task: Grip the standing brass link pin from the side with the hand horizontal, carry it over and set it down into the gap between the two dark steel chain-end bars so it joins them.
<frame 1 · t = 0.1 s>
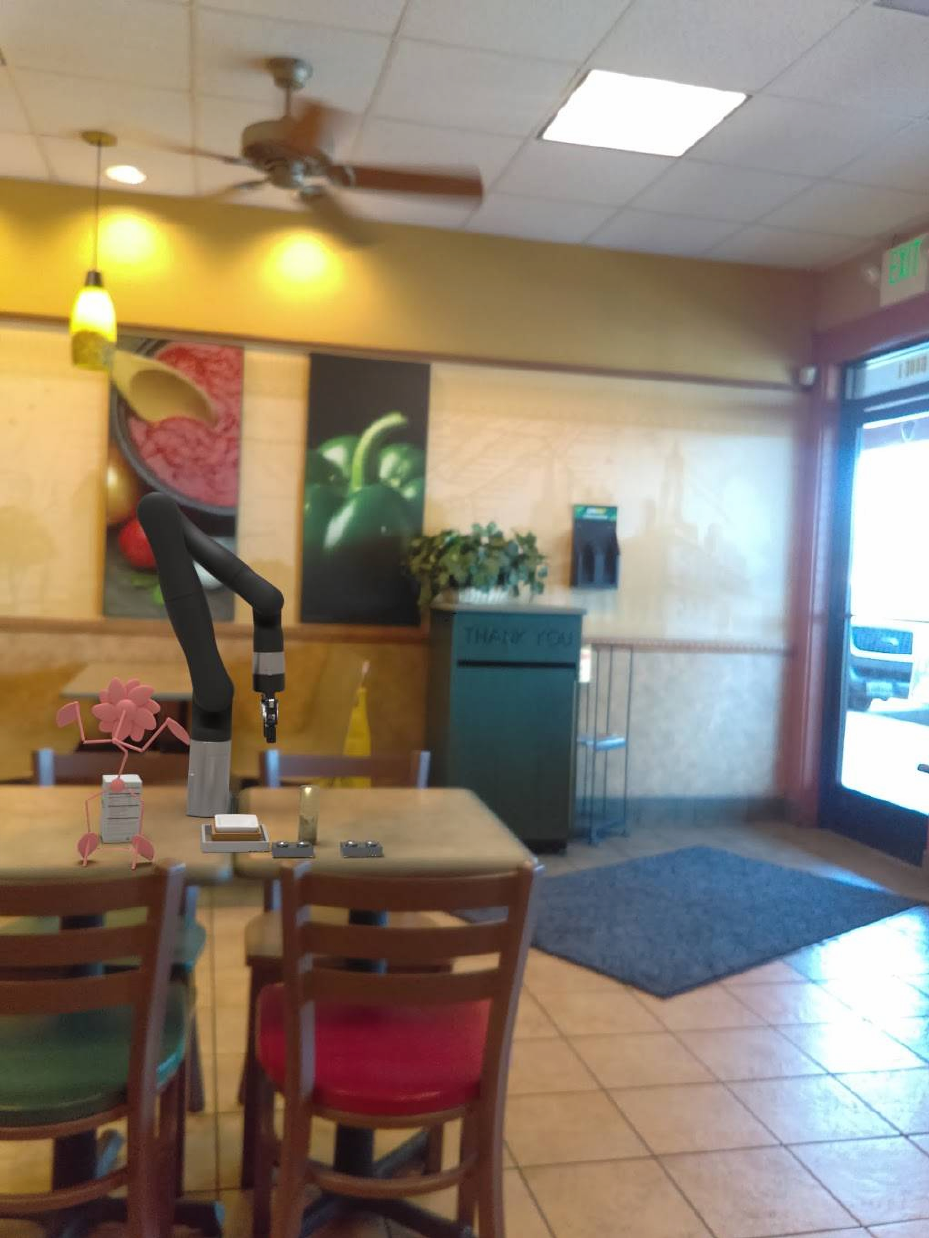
hand: (269, 740, 249), 17 cm above the table, tool pointing down, fingers open, 8 cm apart
coaster tray: (234, 842, 221), on the table
chain end A: (292, 854, 214), on the table
supplement box: (119, 839, 219), on the table
chain end B: (360, 854, 218), on the table
pink flower figurine: (119, 860, 204), on the table
soap dish: (234, 844, 221), resting in coaster tray
link pin: (307, 843, 224), on the table
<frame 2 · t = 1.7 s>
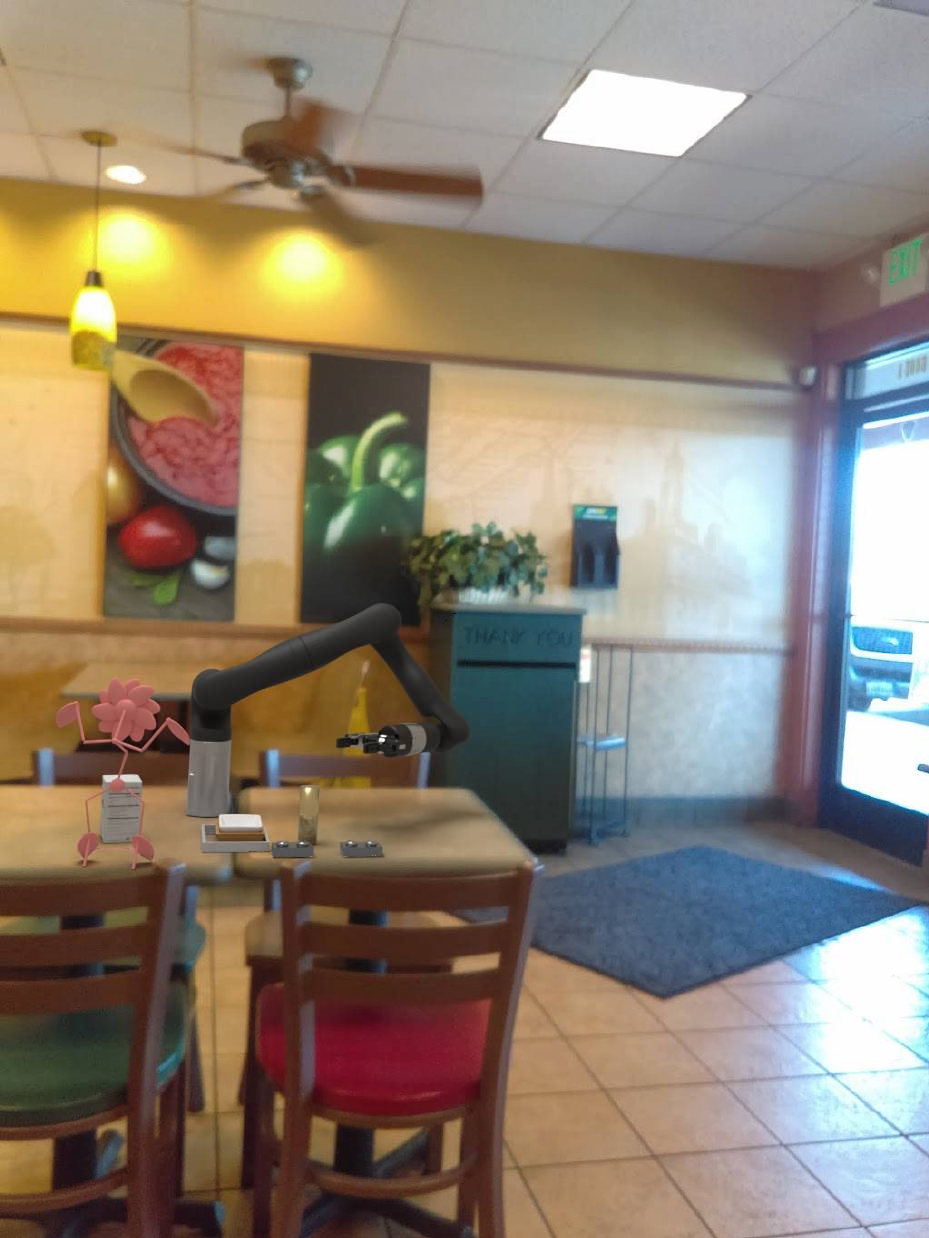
hand: (350, 746, 232), 20 cm above the table, tool horizontal, fingers open, 8 cm apart
nothing on the table moved.
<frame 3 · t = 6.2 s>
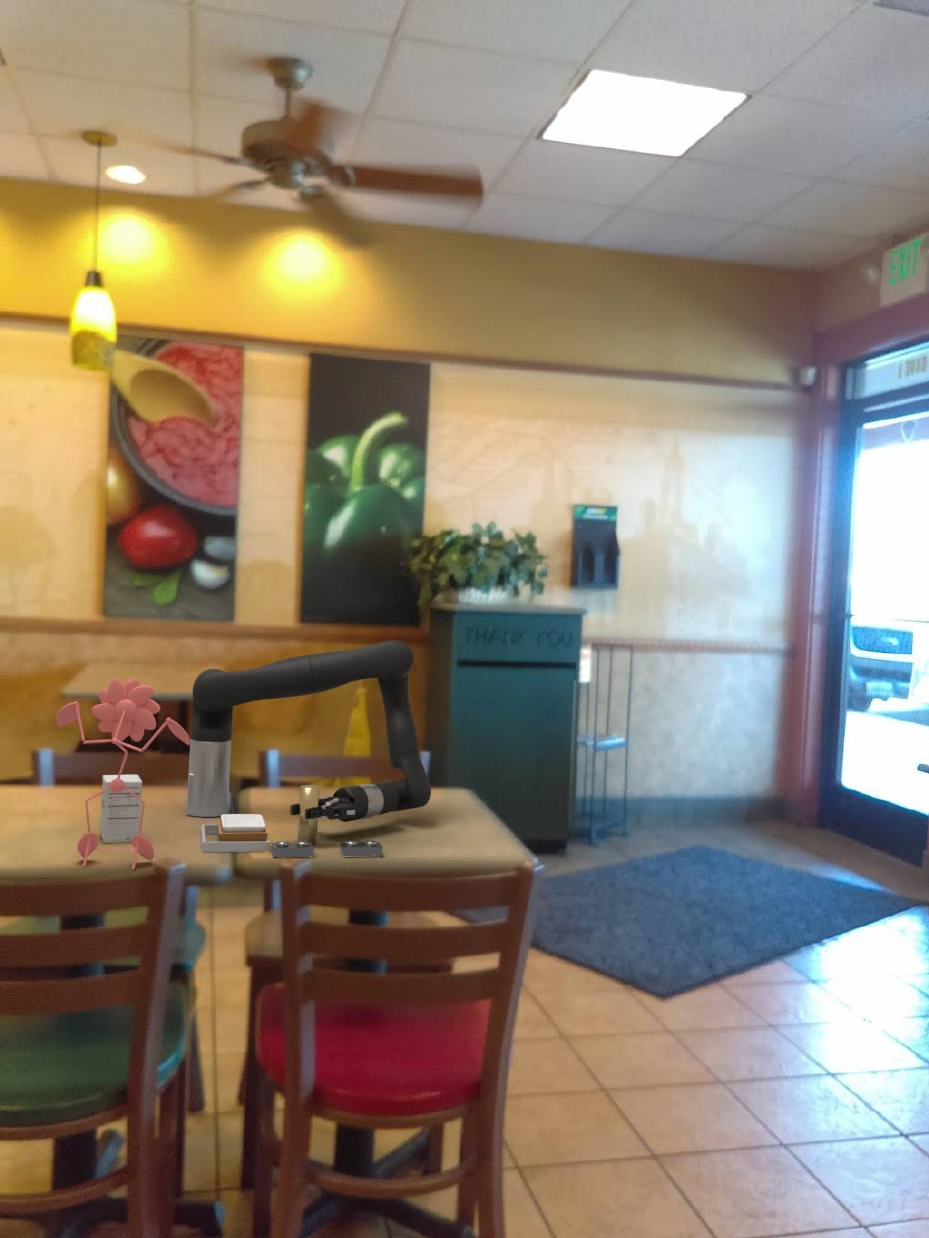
hand: (299, 812, 222), 7 cm above the table, tool horizontal, fingers closed on link pin, 4 cm apart
link pin: (307, 843, 224), on the table, touching gripper
when the fingers open (8 cm above the table, at t = 10.4 s): link pin stays where it is, on the table.
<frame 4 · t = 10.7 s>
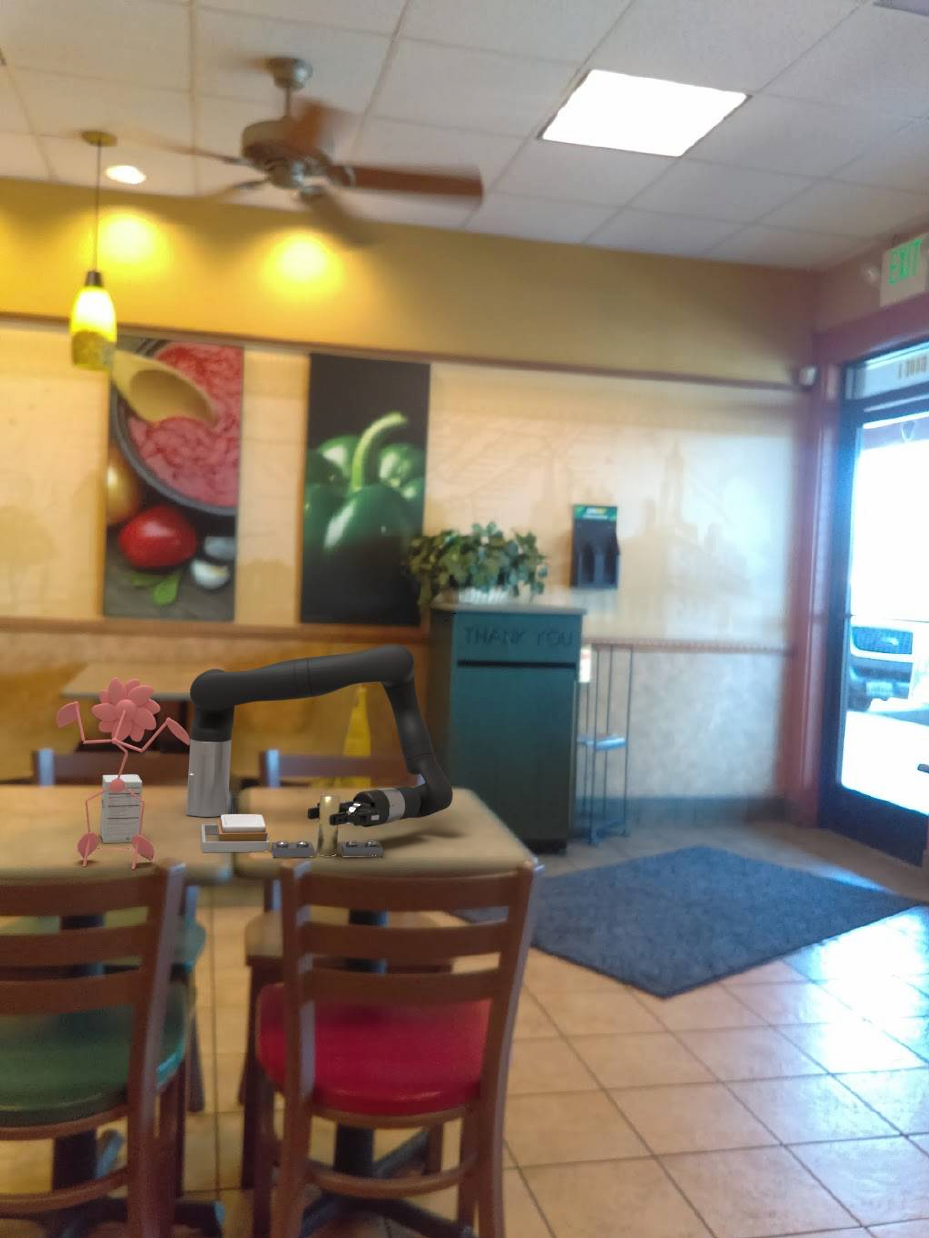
hand: (320, 817, 214), 8 cm above the table, tool horizontal, fingers open, 6 cm apart
link pin: (326, 854, 216), on the table
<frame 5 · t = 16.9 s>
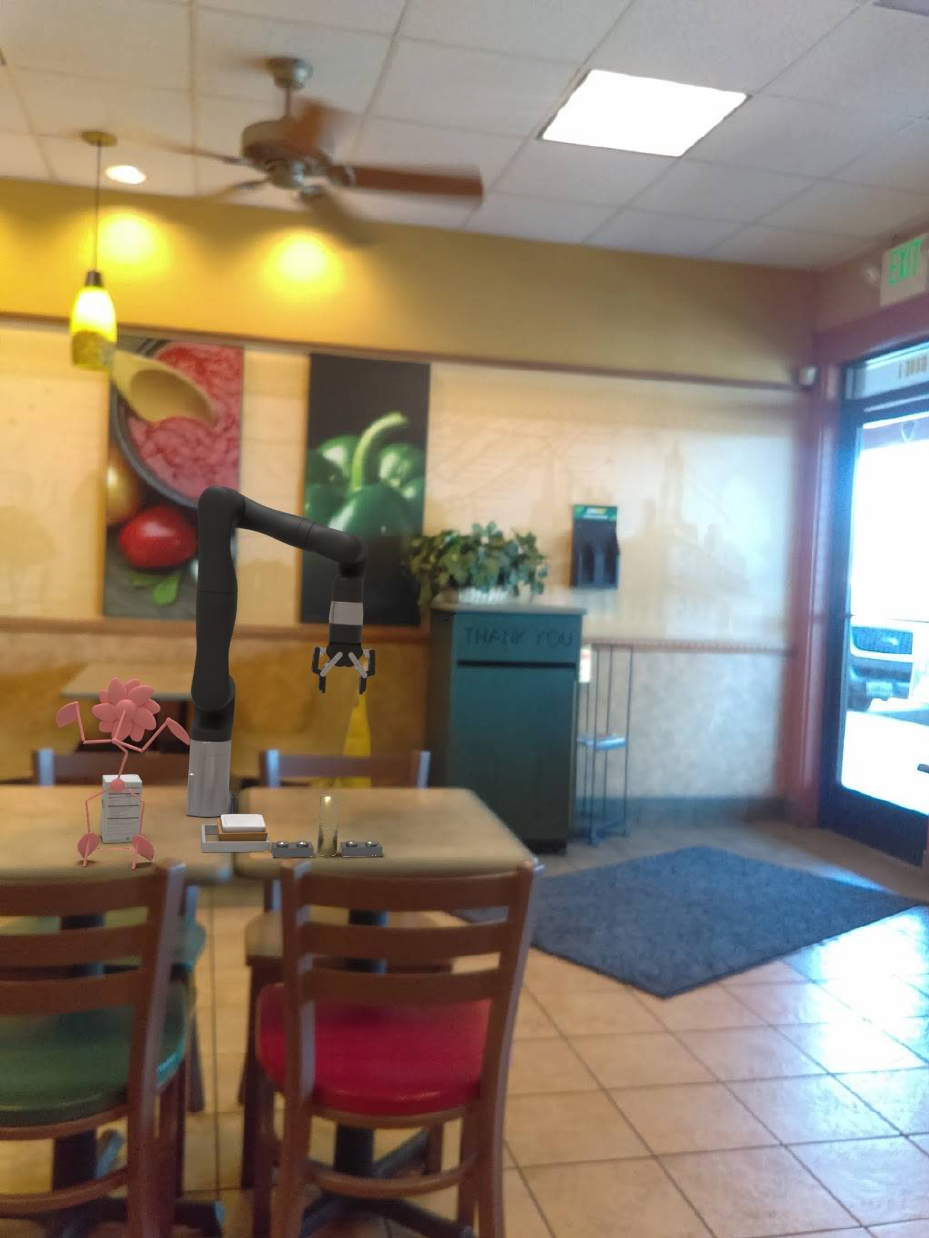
hand: (342, 693, 240), 30 cm above the table, tool pointing down, fingers open, 8 cm apart
at the end: link pin 0.1 cm from the target spot, on the table; link pin tilted 0°; the gripper is holding nothing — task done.
